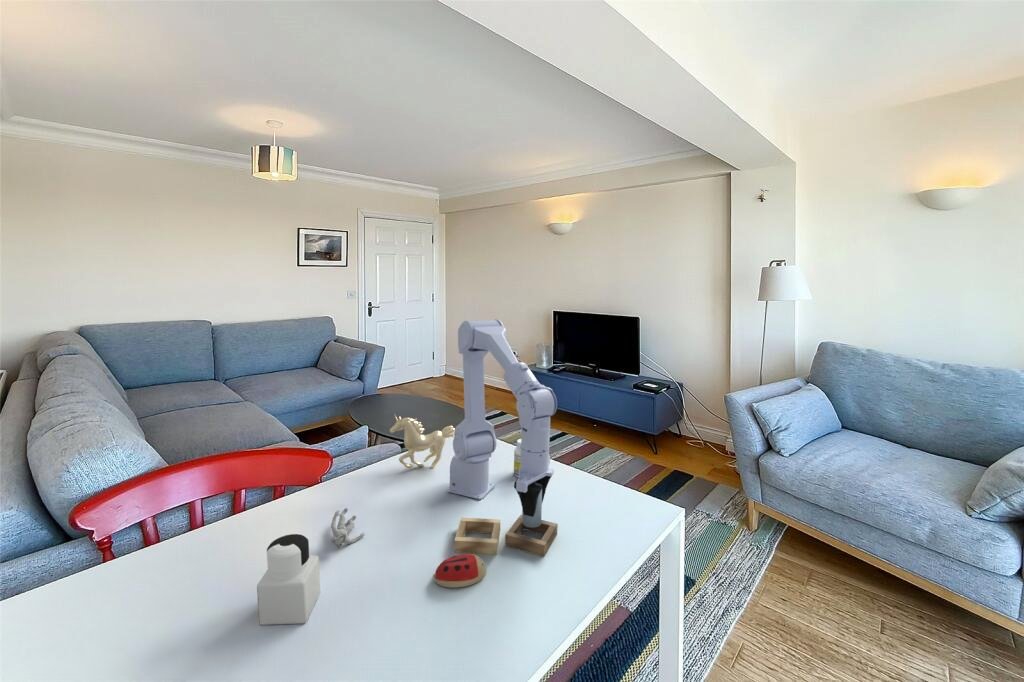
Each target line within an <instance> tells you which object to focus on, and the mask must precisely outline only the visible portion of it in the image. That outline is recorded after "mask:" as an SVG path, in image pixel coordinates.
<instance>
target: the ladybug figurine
mask: <svg viewBox="0 0 1024 682" xmlns="http://www.w3.org/2000/svg"><path fill="white" fill-rule="evenodd" d="M486 574H487V567H486V564H485V561H483V559H482V558H481V557H480V556H478V555H476V554H474V553H461V554H460V553H459V554H456V555H453V556H450V557H448V558H446V559H444V560H443V561H441V562H440V563H439V565H438V566H437V568H436V569H435V572H434V573H433V574H432V578H433V579H434V581H435V583H436V584H438V586H441V587H444V588H448V589H449V588H450V589H451V588H452V589H453V588H455V589H456V588H463V587H468V586H471V585H474V584H477V583H478V582H480V581H481V580H482V579H483V578H484V577H485V576H486Z"/></svg>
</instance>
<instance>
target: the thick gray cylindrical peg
mask: <svg viewBox="0 0 1024 682" xmlns="http://www.w3.org/2000/svg"><path fill="white" fill-rule="evenodd" d="M534 483H535V485H539V486H542V485H541V484H540V483H537V482H534ZM542 505H543V502H542V490H541V491H540V494H539V496H538V500H537V505H536V511H535V514H534V516H533V517H531V516H527V515H524V513H523V509H522V508H521V509H522V511H521V512H522V513H521V515H522V523H523V525H524V526H526V527H531V528H534V527H538V526H540V525H541V520H542V512H543V511H542V509H543V506H542Z"/></svg>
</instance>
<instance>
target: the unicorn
mask: <svg viewBox="0 0 1024 682" xmlns="http://www.w3.org/2000/svg"><path fill="white" fill-rule="evenodd" d="M393 415H394V418H395V424H394V425H392V427H390V429H389V432H390V434H394V433H395V432H397V431H402V430H403V432H404V435H403V436H404V439H403V444H404V448H406V449H407V450H408V451H407V452H406V453H405V454H402V455H401V456H399V458H398V461H399V463H401V464H402V465H403V466H404V467H405V468H406V469H412V468H414V467H415V466H414V465H416V466H417V467H424V466H425V465H424V463H425V462H427V461H428V460H430V459H431V458H433V457H435V459H434V460H433V461H432V463H431V465H430V469H434V468H436V467H435V466H436V465H437V464H438V463H439V462H440V460H441V458H442V452H443V449H444V447H445V444H446V439H447V438H452V437H453V438H454V434H455V428H456V427H454V426H453V425H447V426H445V427H443V429H441V431H440V430H434V431H432V432H431V433H429V434H423V433H424V432H425V430H426V429H425V428H423V427H424V425H423V424H422V421H417V419H418V418H417V417H416V418H411V417H401V416H399V418H397V416H396V413H393ZM426 450H429V452H430V454H428V455H427V456H426V457H425V458H424V460H423V463H422V462H418V461H415V455H414V454H415V453H420V452H424V451H426ZM407 458H409V459H410V462H411V463H412V464H411V463H409V464H408V463H406V461H404V460H405V459H407Z"/></svg>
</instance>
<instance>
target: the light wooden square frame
mask: <svg viewBox="0 0 1024 682" xmlns="http://www.w3.org/2000/svg"><path fill="white" fill-rule="evenodd" d="M467 533H482V534H483V533H484V534H485V533H487V534H491V538H485V537H484V538H483V537H469V536H468V537H467V536H466V534H467ZM500 534H501V519H499V518H496V519H494V518H481V517H480V518H478V517H477V518H476V517H460V521H459V524H458V528H457V532H456V535H455V538H454V549H453V550H454V551H453V552H454V553H463V554H482V555H483V554H484V555H485V554H486V555H498V548H499V542H500Z"/></svg>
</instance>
